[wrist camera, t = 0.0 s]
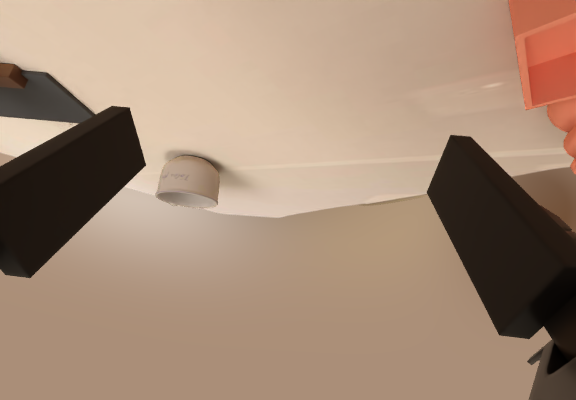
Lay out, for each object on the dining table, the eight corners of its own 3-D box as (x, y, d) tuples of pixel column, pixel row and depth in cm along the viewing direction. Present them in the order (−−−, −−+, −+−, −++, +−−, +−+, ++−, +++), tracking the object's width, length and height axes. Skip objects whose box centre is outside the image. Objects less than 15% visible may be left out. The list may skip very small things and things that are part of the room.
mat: (-125, 58, 34) (-128, 62, 34) (46, 72, 33) (45, 76, 33) (-31, 110, 44) (-32, 113, 44) (104, 122, 43) (103, 125, 43)
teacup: (187, 143, 47) (176, 189, 44) (236, 168, 55) (229, 208, 52) (146, 159, 55) (135, 198, 53) (194, 178, 63) (186, 213, 61)
